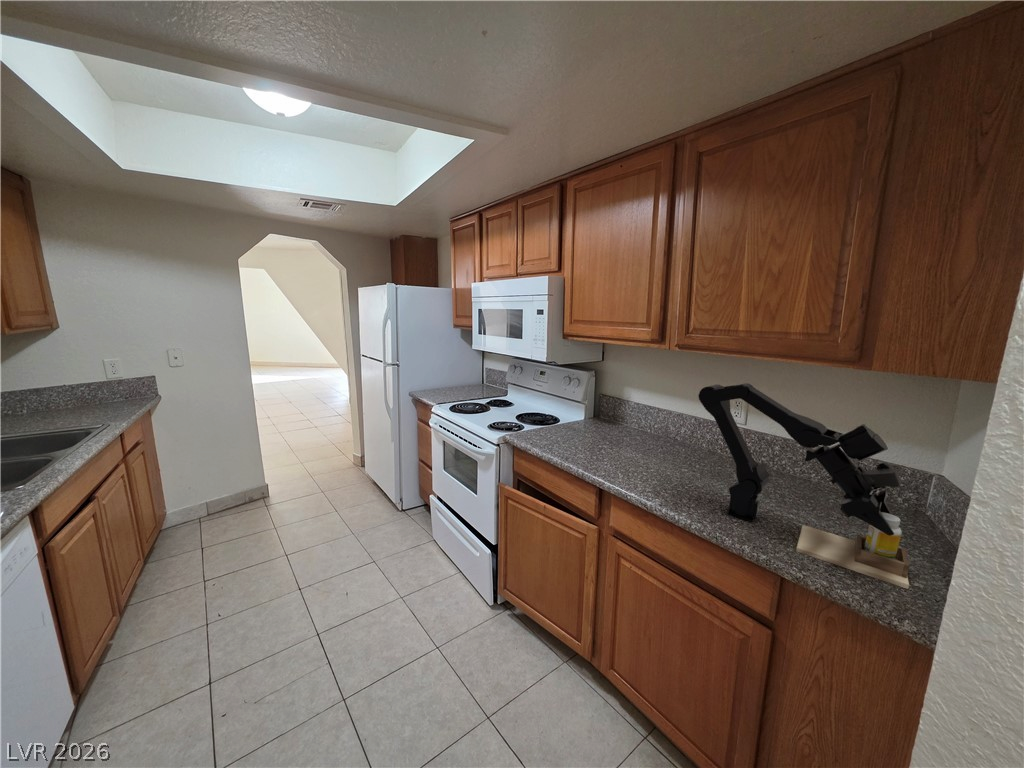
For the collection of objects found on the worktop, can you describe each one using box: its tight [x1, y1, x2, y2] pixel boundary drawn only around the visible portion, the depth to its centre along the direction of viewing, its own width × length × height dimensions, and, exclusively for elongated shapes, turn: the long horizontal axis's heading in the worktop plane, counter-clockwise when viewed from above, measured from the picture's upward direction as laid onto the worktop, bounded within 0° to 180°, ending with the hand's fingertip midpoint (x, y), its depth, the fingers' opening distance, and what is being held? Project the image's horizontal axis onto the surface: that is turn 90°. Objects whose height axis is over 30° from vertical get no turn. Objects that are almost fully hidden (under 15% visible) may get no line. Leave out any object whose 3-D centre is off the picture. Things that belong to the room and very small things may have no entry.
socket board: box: [795, 524, 910, 590], centre depth 94 cm, size 20×14×4 cm
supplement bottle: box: [864, 512, 903, 559], centre depth 90 cm, size 5×5×10 cm
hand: (893, 530), depth 89 cm, fingers closed on supplement bottle, 5 cm apart
